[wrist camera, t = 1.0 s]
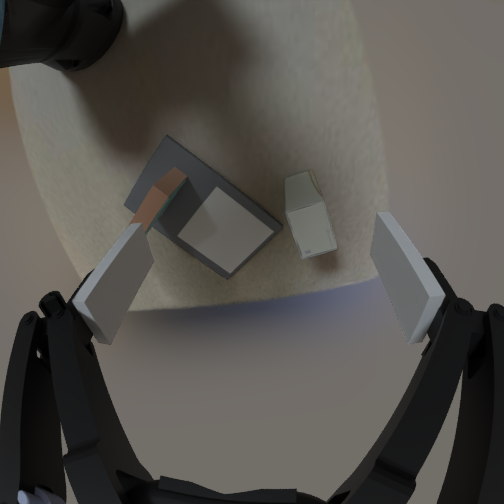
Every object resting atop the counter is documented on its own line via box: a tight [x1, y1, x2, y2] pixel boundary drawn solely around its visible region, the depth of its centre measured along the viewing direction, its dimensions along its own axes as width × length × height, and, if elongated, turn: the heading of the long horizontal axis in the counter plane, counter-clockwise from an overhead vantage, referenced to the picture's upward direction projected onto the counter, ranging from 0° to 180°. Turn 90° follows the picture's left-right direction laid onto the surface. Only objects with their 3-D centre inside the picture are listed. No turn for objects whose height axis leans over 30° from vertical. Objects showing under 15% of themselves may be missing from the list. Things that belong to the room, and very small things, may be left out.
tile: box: [128, 167, 187, 234], centre depth 36 cm, size 3×8×8 cm, turn 140°
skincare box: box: [285, 170, 337, 259], centre depth 33 cm, size 6×4×12 cm
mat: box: [124, 135, 283, 280], centre depth 41 cm, size 22×14×1 cm, turn 50°
